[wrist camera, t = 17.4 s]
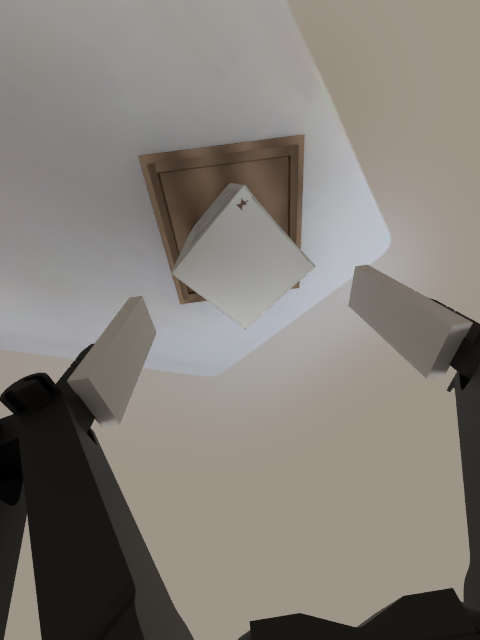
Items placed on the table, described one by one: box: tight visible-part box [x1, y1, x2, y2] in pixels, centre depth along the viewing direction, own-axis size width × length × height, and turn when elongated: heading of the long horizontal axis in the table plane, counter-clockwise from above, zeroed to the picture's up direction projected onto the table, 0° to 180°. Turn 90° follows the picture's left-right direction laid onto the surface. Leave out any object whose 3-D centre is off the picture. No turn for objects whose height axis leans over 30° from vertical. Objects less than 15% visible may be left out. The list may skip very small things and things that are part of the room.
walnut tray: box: [138, 135, 304, 304], centre depth 33 cm, size 21×21×2 cm
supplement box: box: [171, 183, 315, 329], centre depth 26 cm, size 10×9×17 cm
